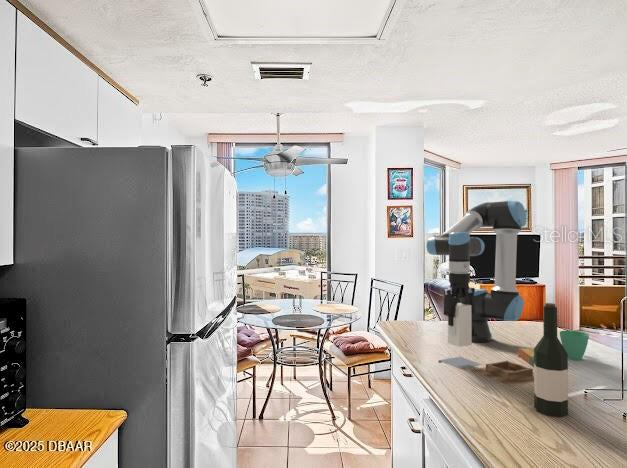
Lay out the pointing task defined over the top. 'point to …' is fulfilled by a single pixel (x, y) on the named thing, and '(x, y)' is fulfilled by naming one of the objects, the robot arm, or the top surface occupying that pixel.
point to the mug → (574, 343)
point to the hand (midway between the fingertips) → (459, 333)
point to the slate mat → (459, 362)
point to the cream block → (462, 326)
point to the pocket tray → (507, 373)
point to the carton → (527, 355)
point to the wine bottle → (550, 369)
